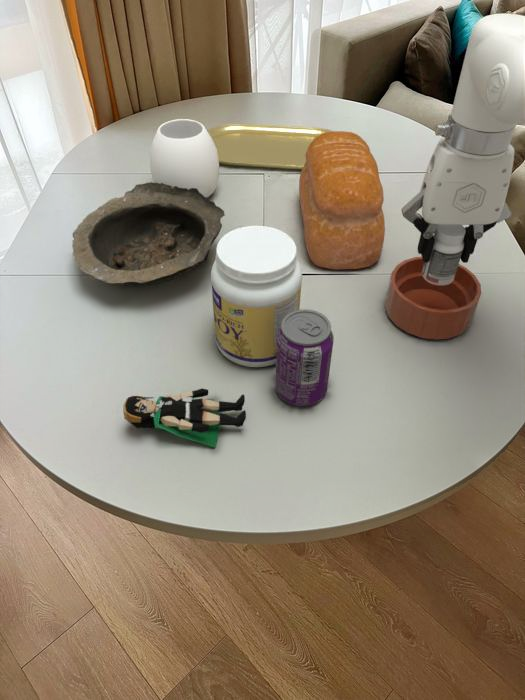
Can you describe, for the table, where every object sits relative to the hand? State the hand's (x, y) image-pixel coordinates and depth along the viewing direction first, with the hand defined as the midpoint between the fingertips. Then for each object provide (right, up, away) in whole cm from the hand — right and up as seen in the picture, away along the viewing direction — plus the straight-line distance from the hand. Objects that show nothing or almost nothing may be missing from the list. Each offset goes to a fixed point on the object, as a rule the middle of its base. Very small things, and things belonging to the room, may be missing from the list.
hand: (443, 255), depth 81 cm
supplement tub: (-27, -12, +3) cm, 30 cm away
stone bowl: (-45, +1, +16) cm, 48 cm away
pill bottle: (0, -3, +3) cm, 4 cm away
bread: (-12, +9, +24) cm, 28 cm away
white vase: (-41, +18, +32) cm, 55 cm away
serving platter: (-23, +31, +45) cm, 60 cm away
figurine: (-36, -23, -7) cm, 44 cm away
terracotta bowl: (0, -8, +8) cm, 11 cm away
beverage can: (-21, -19, -3) cm, 28 cm away
